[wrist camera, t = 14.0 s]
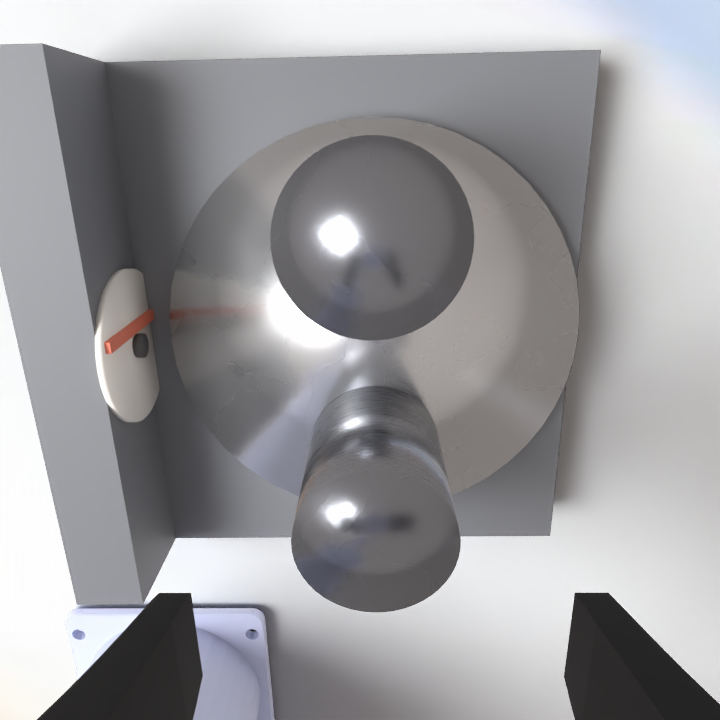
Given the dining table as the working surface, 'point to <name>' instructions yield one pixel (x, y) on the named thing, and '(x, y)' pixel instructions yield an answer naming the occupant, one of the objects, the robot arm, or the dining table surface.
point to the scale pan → (382, 357)
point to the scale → (164, 243)
